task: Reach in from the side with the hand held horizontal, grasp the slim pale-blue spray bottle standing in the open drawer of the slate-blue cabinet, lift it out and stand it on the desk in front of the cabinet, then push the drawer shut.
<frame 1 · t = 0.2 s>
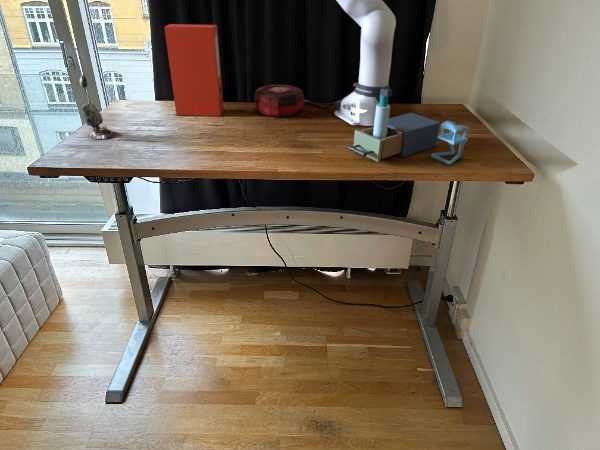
chair: (448, 158, 138), on the table
drawer: (378, 142, 137), point 4 cm above the table, slide at 9.5 cm, touching spray bottle
file binder: (200, 113, 173), on the table
plant with pod: (100, 136, 150), on the table
cabinet: (405, 145, 146), on the table
spray bottle: (378, 148, 139), point 2 cm above the table, touching drawer
red flat cylinder: (279, 111, 177), on the table
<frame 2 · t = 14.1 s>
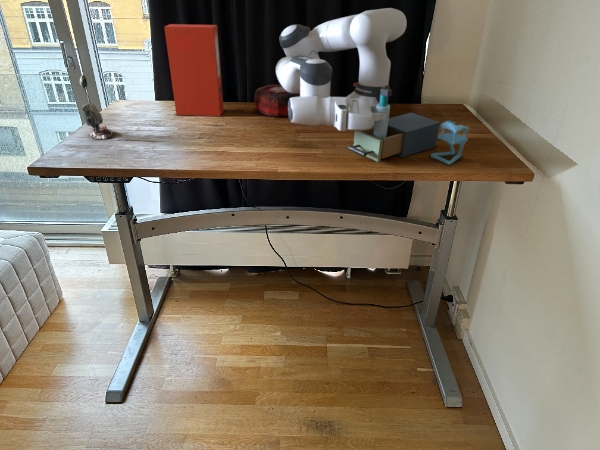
hand: (385, 113, 132), 14 cm above the table, tool horizontal, fingers closed on spray bottle, 4 cm apart
spray bottle: (378, 148, 139), point 2 cm above the table, touching drawer, gripper
everything else where it was.
when the fingers open (12 cm above the table, at t = 23.1 s): spray bottle stays where it is, on the table.
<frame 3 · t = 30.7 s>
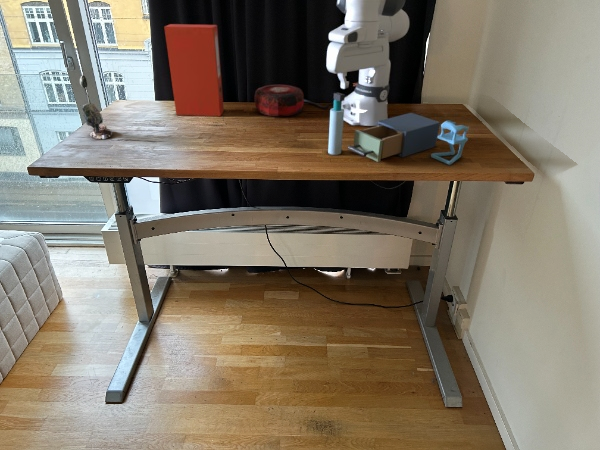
hand: (357, 85, 121), 23 cm above the table, tool pointing down, fingers open, 8 cm apart
drawer: (378, 142, 137), point 4 cm above the table, slide at 9.5 cm
spray bottle: (334, 152, 141), on the table
everything else where it was.
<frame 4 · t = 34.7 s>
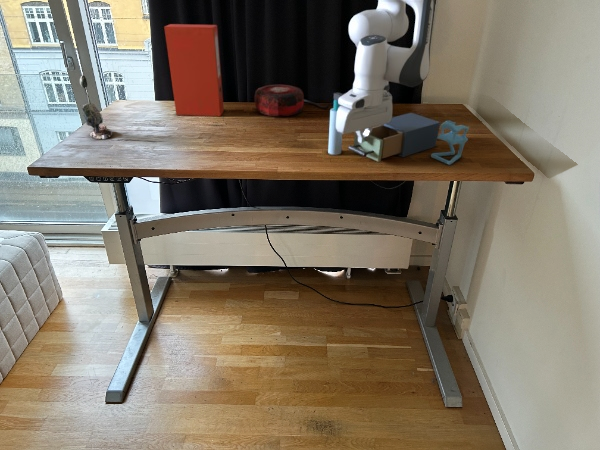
hand: (362, 141, 133), 6 cm above the table, tool pointing down, fingers closed
drawer: (379, 142, 137), point 4 cm above the table, slide at 9.3 cm, touching gripper
everything else where it was.
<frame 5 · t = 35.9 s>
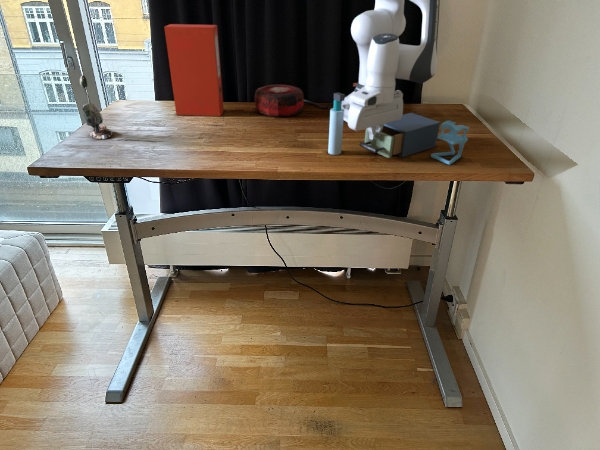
hand: (373, 138, 136), 6 cm above the table, tool pointing down, fingers closed
drawer: (389, 139, 140), point 4 cm above the table, slide at 4.6 cm, touching gripper
everything else where it was.
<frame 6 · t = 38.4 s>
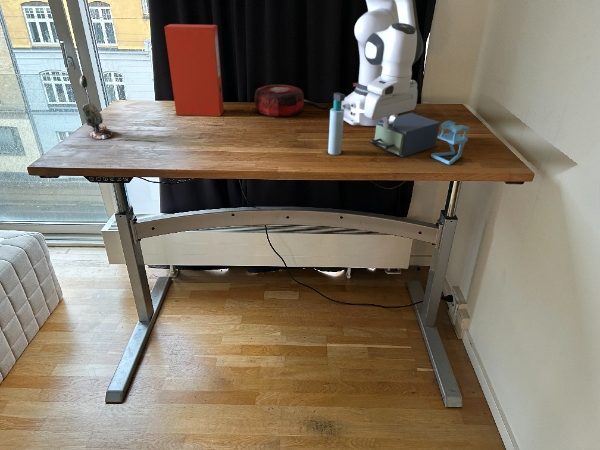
hand: (388, 127, 137), 8 cm above the table, tool pointing down, fingers closed
drawer: (399, 136, 142), point 4 cm above the table, slide at 0.0 cm, touching cabinet
everything else where it was.
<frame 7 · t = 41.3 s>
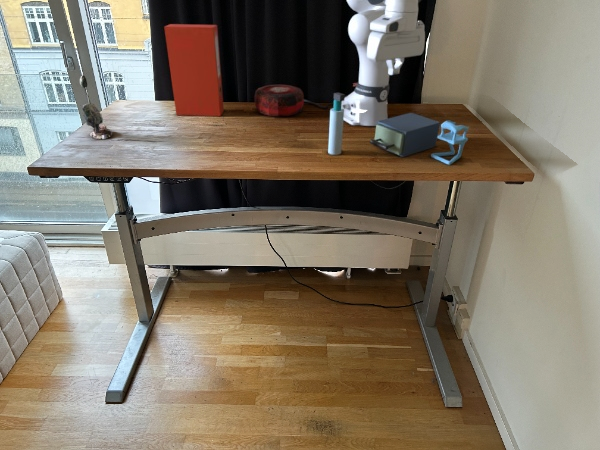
hand: (393, 74, 126), 25 cm above the table, tool pointing down, fingers closed
nothing on the table moved.
at the end: spray bottle inside the target area (0.2 cm from its centre), on the table; spray bottle tilted 0°; drawer slide at 0.0 cm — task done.
